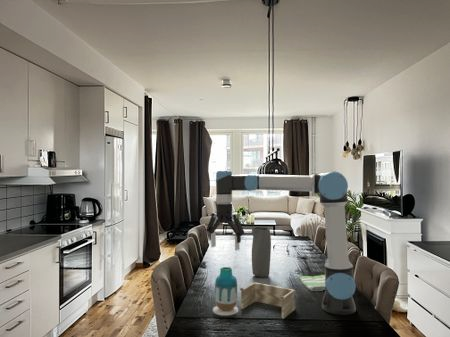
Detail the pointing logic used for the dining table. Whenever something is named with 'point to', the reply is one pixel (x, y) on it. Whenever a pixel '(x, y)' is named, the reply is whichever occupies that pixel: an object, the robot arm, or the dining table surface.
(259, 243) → the vase
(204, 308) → the dining table surface
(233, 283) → the vase
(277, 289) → the light wood u-shaped piece
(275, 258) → the dining table surface
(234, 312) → the disc
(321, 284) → the dish towel
